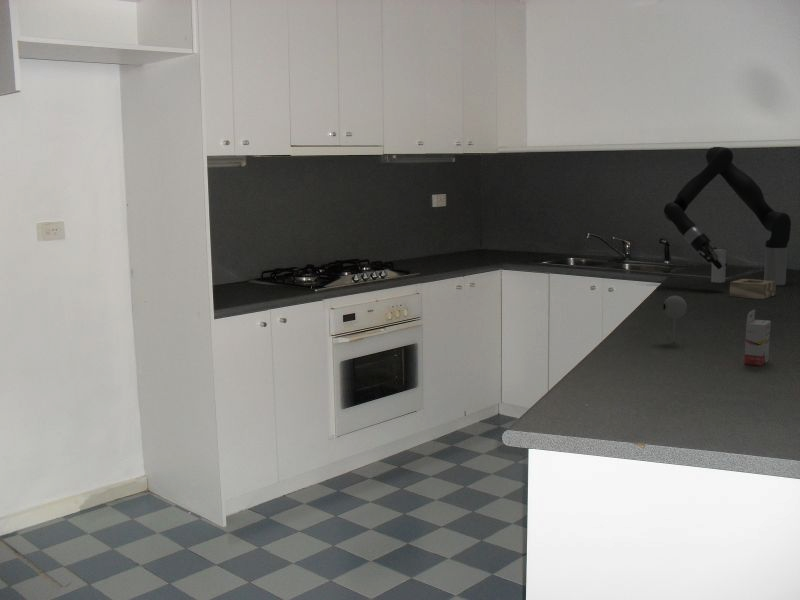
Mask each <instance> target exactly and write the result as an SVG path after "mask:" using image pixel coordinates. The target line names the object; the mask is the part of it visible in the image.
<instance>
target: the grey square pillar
mask: <svg viewBox="0 0 800 600" xmlns="http://www.w3.org/2000/svg"><path fill="white" fill-rule="evenodd" d="M712 253H713V254H714V257H715V258H716V260H718V262H719V263H720V264H721V265H722V267H721V268H720V269H717V267H716V266H715V265H714V264H713V263H711V269H710V270H711V275H710V276H711V280H710V281H711V283H720V284H721V283H725V282H726V270H727V269H726V268H727V266H726V264H727V263H726V261H727V259H726V258H727V249H722V248H721V249H719V248H717V249H715V250H712Z"/></svg>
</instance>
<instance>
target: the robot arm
mask: <svg viewBox="0 0 800 600" xmlns="http://www.w3.org/2000/svg"><path fill="white" fill-rule="evenodd" d="M705 160H706V163H707V165H706V166H705V168H704V169H703V170H702V171H701V172H700V171H699V173H698V174H697V175H695V176H694V177H692V178H691V179H690V180H689V181H687V183H686V184H685V185H684V186H683V187H682V188H681V189H680V190H679V192H678V193H677V195H676V198H675V199H674V200H673V201H671V202H668V203H666V205H665V206H664V208H663V213H664V217H665V218H666V220H668V221H670V222H671V223H673V225H675V228H676V229H677V231H678V232H679V233H680V234H681V235H682V236H683V237H684V239H685V241H687V243H688V244H689V245H690V246H691V248H693V249H694V250H695V251H696V252H699V255H700V256H701V257H702V258H703V260H704V259H705V260H706V261H707V263H709V264H710V263H711V264H712V263H713V264H714V265H715V266H716V267H717V269H720V268H721V267H722V265H721V264H720V263H719V262H718V260H716V258H715V257H714V254H713V253H712V250H715V249H718V248H717V247H716V246H715V247H714V246H712V245H710V243H711V239H710V238H709V237H708V236H707V235H706V233H704V231H702V229H701V228H699V227H698V226H697V225H696V224H695V223H694V221H693V220H691V219H690V218H689V217H688V215H687V214H686V210H687V209H688V206H689V205H691V203H692V202H693V201H694V200H695V199H696V198H697V197H698V195H699V194H700V193H701V192H702V191H703V190H704V189H705V187H707V185H708V184H710V183H711V182H712V181H713V179H715V178H716V177H717V176H718V175H720V176H721V177H722V178H723V179H724V180H725V182H726V183H727V184H728V186H729V187H730V188H731V189H732V191H734V192H735V194H736V195H737V197H738V198H740V200H741V201H743V203H744V205H746V206H747V207H748V209H750V210H751V211H752V212H753V214H754V215H755V217H756V218H757V219H758V220H759V222H760V224H761V225H762V227H764V229H765V230H766V231H768V232H771V233H770V237H769V239H768V240H766V241H765V248H764V250H765V251H764V271H763V274H764V275H763V280H767V281H776V286H785V285H786V280H787V258H788V257H787V255H788V243H789V242H790V238H791V229H792V222H791V217H790V214H787V213H786V212H783V211H782V212H779V211H775V210H774V209H773V208H772V207H771V206H769V204H768V203H767V202H766V200H765V198H764V197H765V196H764V194H763V191H762V189H761V188H760V186H759V185H758V184H757V182H755V180H754V179H753V178H751V176H749V175H748V174H747V173H745V172H744V171H742V170H741V169H739V168H738V167H737V166H736V165H735V164H734V163H733V160H734V153H733V151H732V150H731V149H730V148H728V147H724V146H713V147H710V148H709V149H708V150H707V151H706V153H705ZM727 266H728V264H727V263H726V267H727Z"/></svg>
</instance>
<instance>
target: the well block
mask: <svg viewBox="0 0 800 600" xmlns="http://www.w3.org/2000/svg"><path fill="white" fill-rule="evenodd" d="M776 286H777V285H776V281H767V280H764V279H763V280H762V279H753V278H752V279H750V278H740V279H737V280H734V281H730V282H729V297H733V298H734V297H735V298H746V299H747V298H748V299H758V300H764V299H767V298H771V297H773V296H775V295H776Z"/></svg>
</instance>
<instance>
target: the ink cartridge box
mask: <svg viewBox="0 0 800 600" xmlns="http://www.w3.org/2000/svg"><path fill="white" fill-rule="evenodd" d="M755 315H756V309H752V310H751V311H749V312H748V313H747V316H746V323H745V341H744V342H745V343H744V365H749V366H750V365H752V366H756V367H757V366H758V367H759V366H760V367H762V366H764V365H765V364H766V363H767V362H768V361H769V355H770V354H769V353H770V342H771V341H770V340H771V338H770V337H771V323H772V320H765V319H763V320H762V319H755Z"/></svg>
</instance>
